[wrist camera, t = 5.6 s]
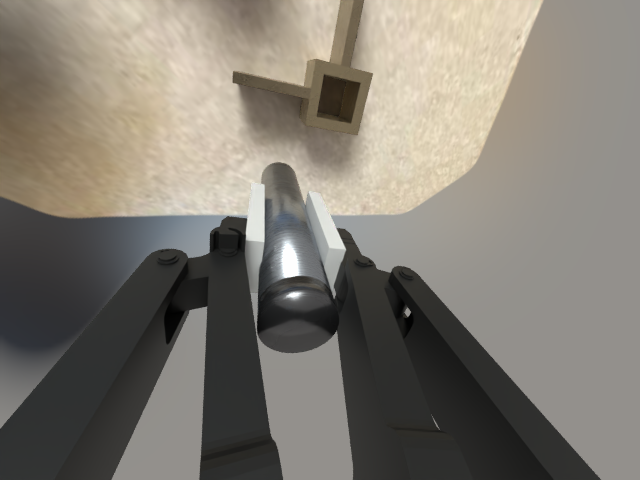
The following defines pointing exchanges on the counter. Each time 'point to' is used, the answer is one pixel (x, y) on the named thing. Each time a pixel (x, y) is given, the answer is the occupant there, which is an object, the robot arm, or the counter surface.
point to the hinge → (335, 69)
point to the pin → (291, 271)
